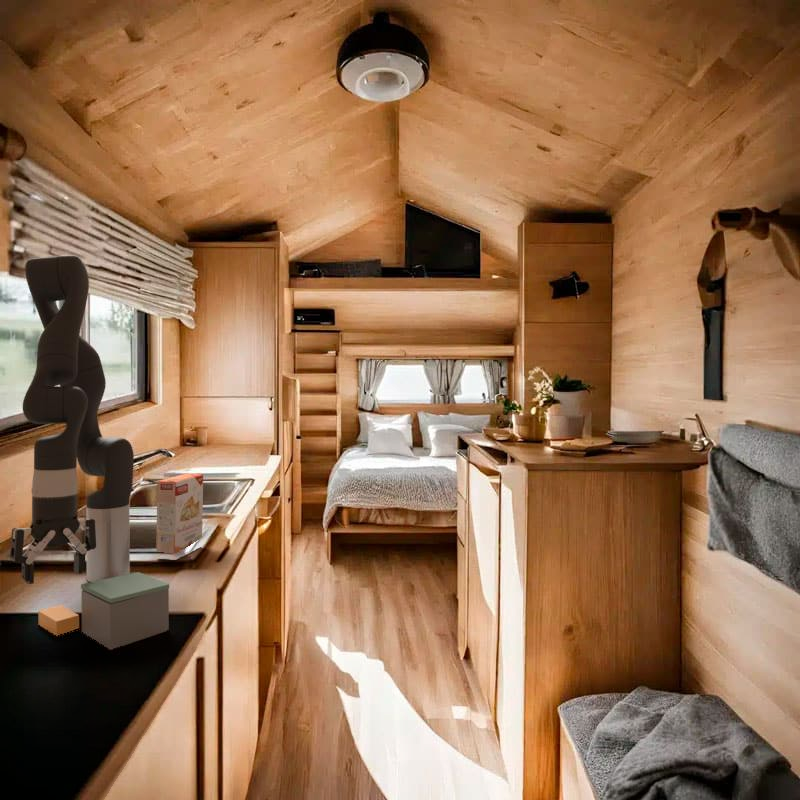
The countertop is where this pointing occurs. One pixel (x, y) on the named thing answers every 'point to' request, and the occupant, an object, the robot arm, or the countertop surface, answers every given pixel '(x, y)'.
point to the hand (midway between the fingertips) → (54, 578)
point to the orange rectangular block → (58, 620)
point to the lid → (124, 587)
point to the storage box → (125, 618)
